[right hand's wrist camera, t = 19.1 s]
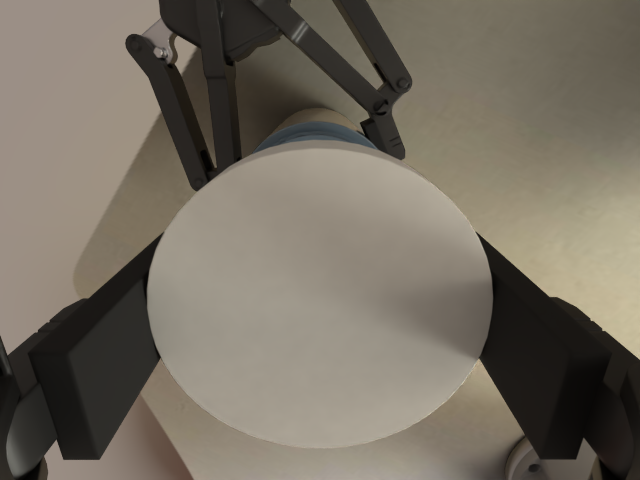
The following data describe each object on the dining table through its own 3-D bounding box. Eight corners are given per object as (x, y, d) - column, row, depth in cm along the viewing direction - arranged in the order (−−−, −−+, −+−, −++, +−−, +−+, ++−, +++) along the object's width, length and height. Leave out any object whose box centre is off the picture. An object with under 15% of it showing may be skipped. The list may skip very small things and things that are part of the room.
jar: (386, 154, 32) (438, 204, 18) (321, 224, 34) (324, 316, 20) (311, 85, 30) (306, 82, 16) (248, 164, 32) (196, 221, 18)
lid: (143, 364, 13) (118, 402, 11) (212, 86, 10) (191, 84, 8) (394, 435, 14) (403, 478, 12) (529, 208, 11) (564, 227, 9)
